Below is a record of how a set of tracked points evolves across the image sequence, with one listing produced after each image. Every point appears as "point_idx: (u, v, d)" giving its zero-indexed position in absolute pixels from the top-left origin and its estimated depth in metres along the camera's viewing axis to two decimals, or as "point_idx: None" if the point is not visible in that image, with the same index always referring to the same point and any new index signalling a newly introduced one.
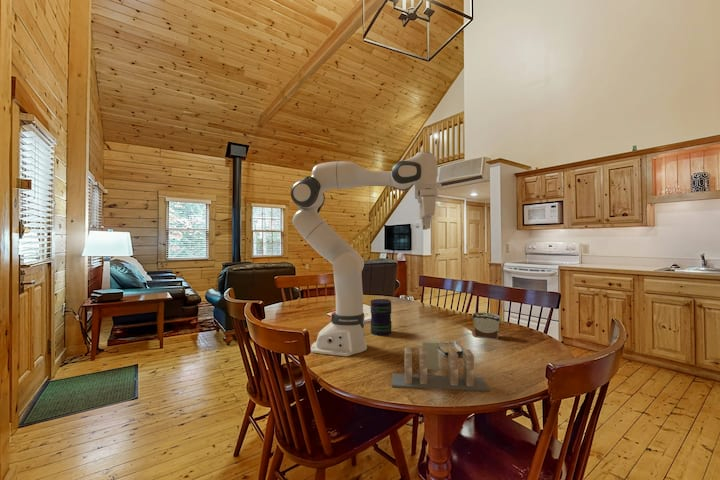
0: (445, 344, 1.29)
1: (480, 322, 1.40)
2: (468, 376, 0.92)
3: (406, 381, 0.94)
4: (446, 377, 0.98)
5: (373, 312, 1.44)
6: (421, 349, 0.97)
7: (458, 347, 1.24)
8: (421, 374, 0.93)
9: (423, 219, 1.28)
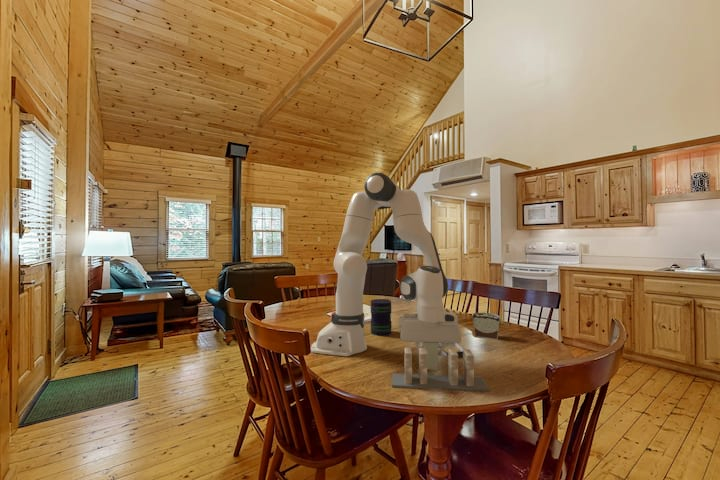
0: (446, 344, 1.29)
1: (480, 322, 1.40)
2: (468, 376, 0.92)
3: (406, 381, 0.94)
4: (446, 377, 0.98)
5: (373, 312, 1.44)
6: (421, 349, 0.97)
7: (459, 347, 1.24)
8: (421, 374, 0.93)
9: None
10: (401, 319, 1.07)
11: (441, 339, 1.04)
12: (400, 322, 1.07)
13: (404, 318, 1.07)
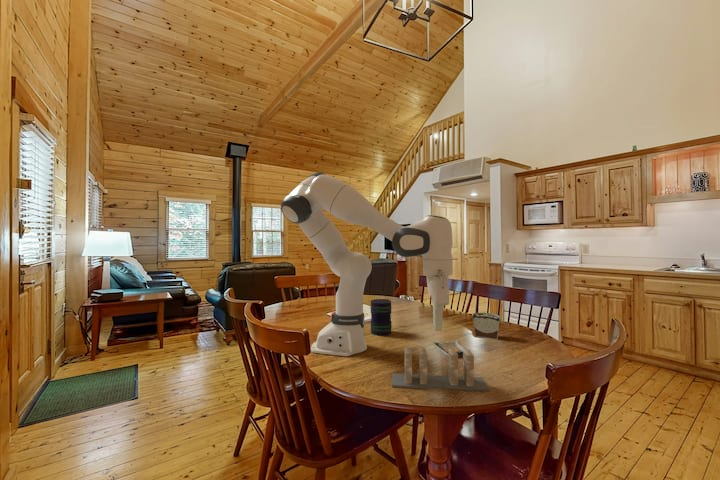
0: (447, 344, 1.29)
1: (480, 322, 1.40)
2: (468, 376, 0.92)
3: (406, 381, 0.94)
4: (446, 377, 0.98)
5: (373, 312, 1.44)
6: (421, 349, 0.97)
7: (460, 347, 1.24)
8: (421, 374, 0.93)
9: None
10: None
11: None
12: (444, 283, 0.85)
13: None
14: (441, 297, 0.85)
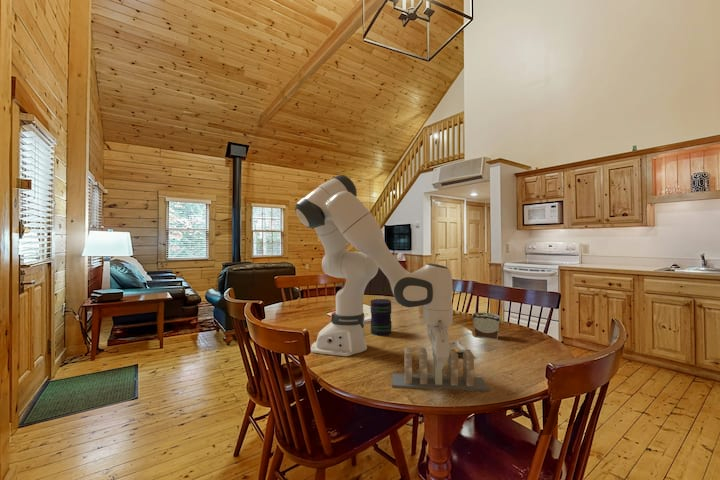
0: None
1: (480, 322, 1.40)
2: (468, 376, 0.92)
3: (406, 381, 0.94)
4: (446, 377, 0.98)
5: (373, 312, 1.44)
6: (421, 349, 0.97)
7: (461, 347, 1.24)
8: (421, 374, 0.93)
9: None
10: None
11: None
12: (444, 336, 0.85)
13: None
14: (441, 351, 0.85)
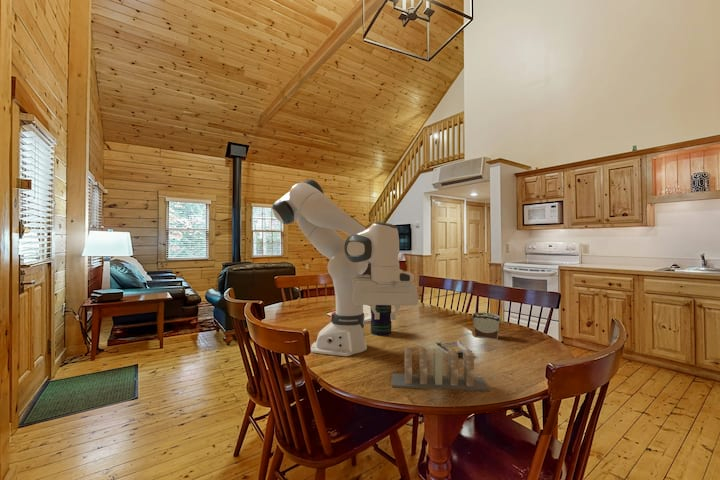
0: (448, 344, 1.28)
1: (480, 322, 1.40)
2: (468, 376, 0.92)
3: (406, 381, 0.94)
4: (446, 377, 0.98)
5: None
6: (421, 349, 0.97)
7: (463, 347, 1.24)
8: (421, 374, 0.93)
9: (375, 306, 0.97)
10: (353, 280, 0.98)
11: (396, 301, 0.95)
12: (353, 284, 0.98)
13: (357, 279, 0.97)
14: None
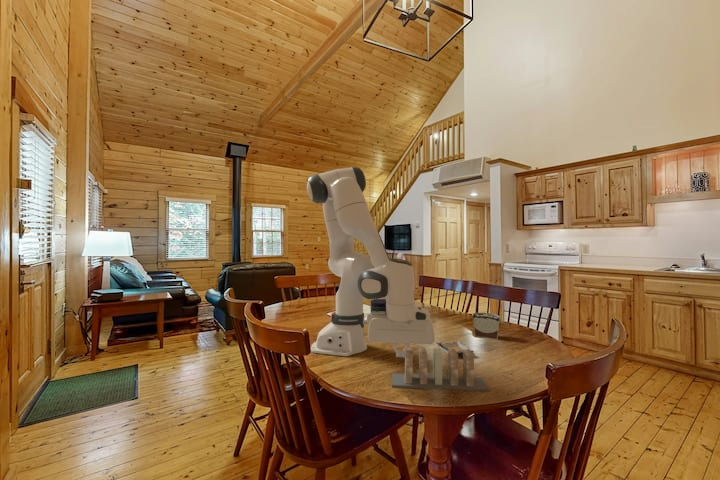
0: (449, 344, 1.28)
1: (480, 322, 1.40)
2: (468, 376, 0.92)
3: (406, 381, 0.94)
4: (446, 377, 0.98)
5: None
6: (421, 349, 0.97)
7: (463, 347, 1.24)
8: (421, 374, 0.93)
9: (396, 343, 0.96)
10: (368, 317, 0.97)
11: (412, 339, 0.94)
12: (368, 320, 0.97)
13: (372, 316, 0.97)
14: None
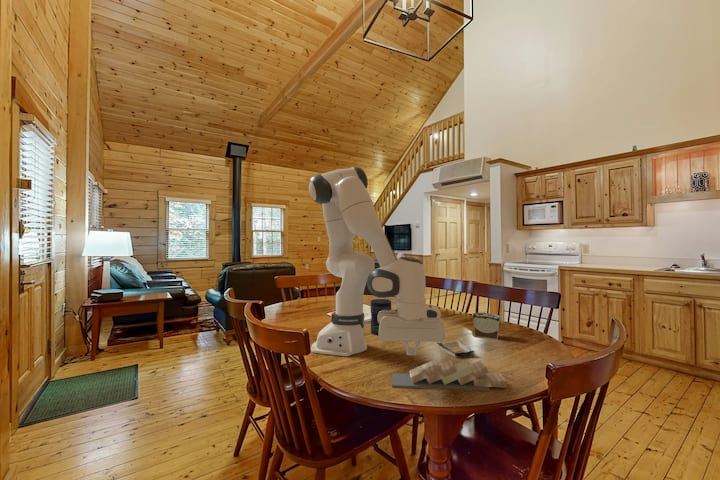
0: (450, 344, 1.28)
1: (480, 322, 1.40)
2: (484, 381, 0.92)
3: (412, 377, 0.94)
4: None
5: (373, 312, 1.44)
6: None
7: (464, 347, 1.24)
8: (435, 375, 0.93)
9: (407, 341, 0.96)
10: (379, 315, 0.97)
11: (423, 337, 0.95)
12: (378, 319, 0.97)
13: (382, 314, 0.97)
14: None
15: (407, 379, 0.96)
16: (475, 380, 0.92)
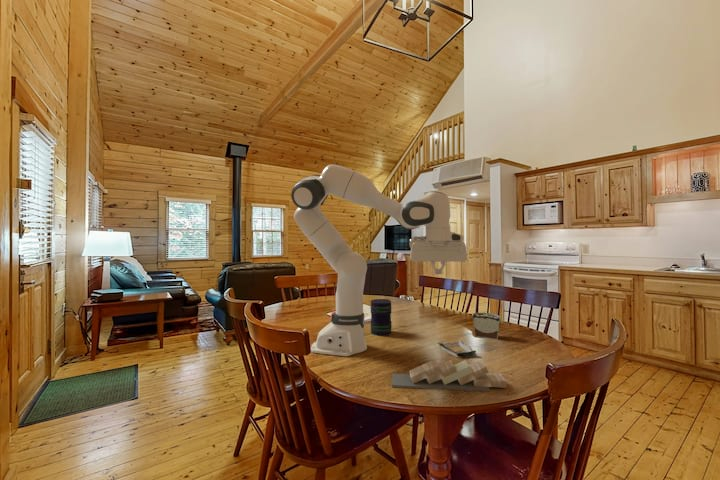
0: (450, 344, 1.28)
1: (480, 322, 1.40)
2: (484, 381, 0.92)
3: (412, 377, 0.94)
4: None
5: (373, 312, 1.44)
6: None
7: (465, 347, 1.24)
8: (435, 375, 0.93)
9: None
10: (411, 241, 1.16)
11: (448, 258, 1.13)
12: (410, 244, 1.16)
13: (414, 240, 1.15)
14: (410, 255, 1.16)
15: (407, 379, 0.96)
16: (475, 380, 0.92)
